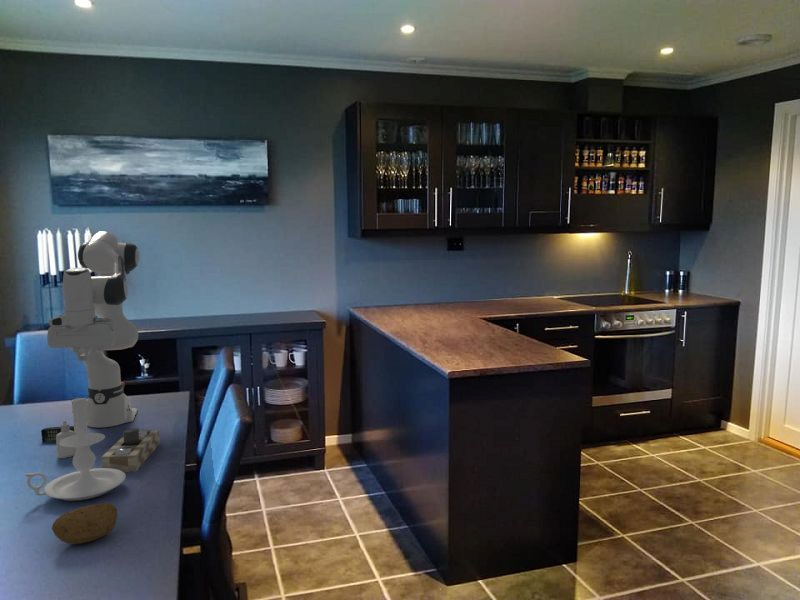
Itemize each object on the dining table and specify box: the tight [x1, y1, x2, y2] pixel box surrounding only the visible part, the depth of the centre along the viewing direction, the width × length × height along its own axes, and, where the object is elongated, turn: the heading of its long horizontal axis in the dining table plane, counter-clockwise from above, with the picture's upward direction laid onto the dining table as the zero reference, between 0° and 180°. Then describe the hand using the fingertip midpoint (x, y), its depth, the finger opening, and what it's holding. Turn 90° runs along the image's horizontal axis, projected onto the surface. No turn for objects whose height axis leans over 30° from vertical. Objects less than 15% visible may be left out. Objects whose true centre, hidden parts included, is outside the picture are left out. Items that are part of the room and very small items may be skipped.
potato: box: [51, 502, 118, 545], centre depth 149 cm, size 10×14×8 cm
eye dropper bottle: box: [55, 419, 76, 460], centre depth 204 cm, size 4×6×12 cm
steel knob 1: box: [115, 446, 131, 455], centre depth 194 cm, size 5×5×5 cm
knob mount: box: [100, 429, 160, 473], centre depth 202 cm, size 24×10×5 cm, turn 5°
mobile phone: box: [40, 425, 76, 443], centre depth 219 cm, size 5×3×15 cm
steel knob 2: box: [139, 429, 147, 437], centre depth 210 cm, size 5×5×5 cm
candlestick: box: [24, 397, 126, 502], centre depth 173 cm, size 21×25×28 cm
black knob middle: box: [122, 428, 140, 446], centre depth 201 cm, size 5×5×5 cm
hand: (83, 360), depth 204 cm, fingers closed
